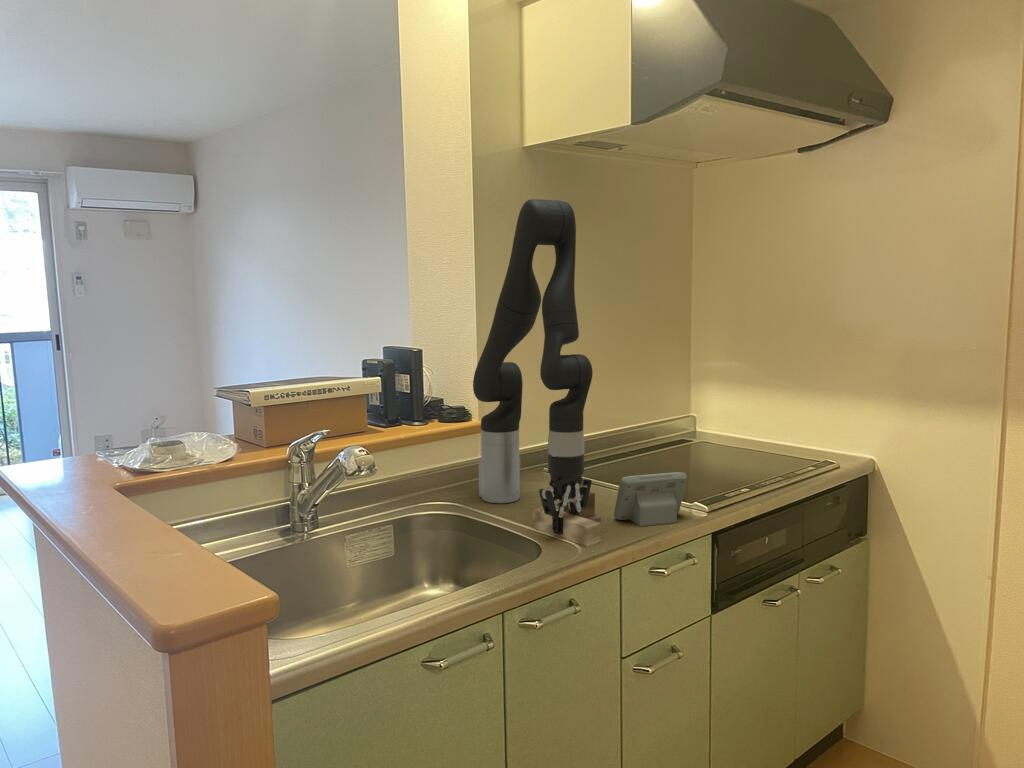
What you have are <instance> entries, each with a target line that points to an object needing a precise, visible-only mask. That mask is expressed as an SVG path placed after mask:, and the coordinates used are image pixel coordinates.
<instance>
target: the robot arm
mask: <svg viewBox="0 0 1024 768" xmlns="http://www.w3.org/2000/svg"><path fill="white" fill-rule="evenodd" d="M576 226H577V223H576V216H575V212H574V209H573V207H572V205H571V204H570V202H568V201H563V200H555V199H553V200H552V199H539V198H532V199H527V200H526V201H525V202H524V203H523V204H522V206H521V208H520V211H519V214H518V216H517V221H516V226H515V231H514V236H513V242H512V247H511V252H510V253H511V254H510V257H509V262H508V267H507V270H506V274H505V278H504V280H503V284H502V287H501V290H500V294H499V297H498V300H497V305H496V307H495V311H494V316H493V320H492V324H491V327H490V330H489V334H488V335H487V339H486V342H485V345H484V348H483V350H482V352H481V355H480V358H479V360H478V362H477V365H476V367H475V370H474V374H473V380H472V388H473V389H472V391H473V394H474V396H475V398H476V399H477V400H478V401H479V402H483V403H495V402H499V403H498V405H497V406H496V408H495V409H493V410H492V411H490V412H489V413H487V414H486V415H484V416H483V417H481V419H480V446H481V447H480V448H481V449H480V451H481V453H480V455H481V456H480V458H479V459H478V497H479V498H481V500H482V501H485V502H487V503H491V504H508V503H514V502H516V501H518V500H519V499H520V421H521V418H522V408H523V407H522V404H523V403H522V401H523V400H522V399H523V376H522V371H521V369H520V367H519V365H518V364H517V363H515V362H513V361H512V362H511V361H506V362H505V359H506V358H507V356H508V355H509V354H510V352H512V350H513V349H514V348H515V347H516V346H518V344H520V342H522V340H524V338H525V337H527V335H529V333H530V332H531V330H532V329H533V327H534V325H535V323H536V320H537V317H538V313H539V310H540V308H541V314H542V315H541V316H542V323H543V330H544V331H543V333H544V340H543V341H544V342H543V352H542V357H541V363H540V370H539V371H540V373H539V374H540V379H541V381H542V384H543V385H544V387H546V389H548V390H551V391H562V390H568V392H567V394H566V395H565V396H564V397H563V398H561V399H558V400H555V401H553V402H551V403H550V405H549V409H548V410H549V411H548V417H549V419H548V423H549V424H548V428H549V429H548V431H549V432H548V438H547V473H548V474H549V476H550V481H549V484H548V485H549V486H547V487H546V488H540V489H539V492H538V493H539V497H540V500H541V501H540V502H541V504H542V507H543V509H544V513H545V514H547V515H551V516H552V524H553V525H552V529H553V531H554V533H555V534H558V535H561V534H563V517H562V516H563V512H564V507H566V505H567V502H568V506H569V509H570V511H569V514H573V515H576V516H579V512H580V511H581V508H583V507H586V506H587V501H588V497H589V492H591V487H592V480H591V479H588V478H586V477H582V475H583V474H584V473H585V436H584V434H585V433H584V412H585V411H584V410H585V407H586V403H587V398H588V395H589V391H590V388H591V384H592V380H593V374H594V373H593V367H592V363H591V361H590V359H589V358H588V357H587V356H586V355H584V354H579V353H578V354H577V353H576V354H561V350H562V347H563V346H565V345H568V344H571V343H574V342H576V341H577V340H578V339H579V337H580V336H579V335H580V331H579V321H578V315H577V314H578V313H577V306H576V304H577V303H576V296H575V293H576V291H575V281H576V280H575V275H576V274H575V273H576V249H577V248H576V246H577V245H576V243H577V242H576V240H577V227H576ZM538 246H553V248H554V253H555V262H554V264H555V265H554V269H553V271H552V273H551V276H550V279H549V281H548V284H547V286H546V288H545V290H544V293H543V296H542V294H541V291H540V288H539V283H538V281H537V279H536V275H535V272H534V268H533V260H534V255H535V251H536V249H537V247H538ZM582 495H583V499H582V501H581V496H582ZM559 500H562V501H561V502H560V501H559ZM573 502H574V503H573ZM557 510H558V511H557Z"/></svg>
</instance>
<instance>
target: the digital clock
mask: <svg viewBox="0 0 1024 768" xmlns="http://www.w3.org/2000/svg"><path fill="white" fill-rule="evenodd" d="M687 480H688V475H687V473H686V472H683V471H679V472H678V471H676V472H675V471H674V472H663V473H661V472H660V473H652V474H641V475H640V474H639V475H629V476H623V477H622V478H621V479H620V481H619V485H618V491H617V496H616V502H615V505H614V506H615V507H614V512H613V517H614V518H615V519H616V520H618V521H625V520H626V521H627V520H630V521H632V522H633V523H634V524H636V525H637V526H639V527H646V526H657V525H667V524H675V523H677V520H678V519H677V517H678V515H679V512H680V509H681V505H682V502H683V498H684V493H685V489H686V484H687Z"/></svg>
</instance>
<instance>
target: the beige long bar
mask: <svg viewBox="0 0 1024 768" xmlns="http://www.w3.org/2000/svg"><path fill="white" fill-rule="evenodd" d="M557 511H558V509H557ZM562 517H563V534H561V535H558V534H555V533H554V531H553V529H552V525H553V524H552V516H551V515H547V514H545V513H544V509H543V506H541V507H539V508H534V509H532V528H533V529H536V530H538V531H541V532H544V533H547V534H550V535H552V536H556V537H559V538H560V539H564V540H567V541H570V542H573V543H576V544H579V545H581V546H584V547H590V546H594V545H597V544H600V543H601V542H602V523H601V522H600V521H598V522H595V521H592V520H589V519H586V518H583V517H579V516H576V515H573V514H569V513H567V512H563V516H562ZM599 542H600V543H599Z"/></svg>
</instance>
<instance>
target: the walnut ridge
mask: <svg viewBox="0 0 1024 768" xmlns="http://www.w3.org/2000/svg"><path fill="white" fill-rule="evenodd" d="M582 499H583V495H582V496H581V501H582ZM558 501H560V502H561V501H562V500H559V499H558ZM595 501H596V494H595V492H591V491H590V492H589V497H588V501H587V506H586V507H583V508H581V511H580V512H579V517H583V518H586V519H589V520H592V521H595V522H600V521H601V520H602V519H601V518H602V516H599V515H596V514H595V513H596V511H595V510H596V504H595V503H596V502H595ZM573 503H574V502H573ZM569 511H570V509H569V506H568V502H567V505H566V507H564V512H567V513H569Z"/></svg>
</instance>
